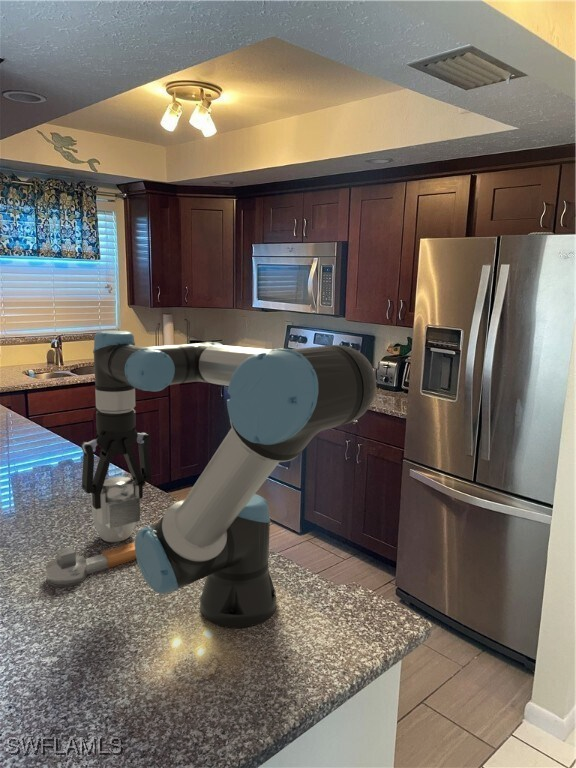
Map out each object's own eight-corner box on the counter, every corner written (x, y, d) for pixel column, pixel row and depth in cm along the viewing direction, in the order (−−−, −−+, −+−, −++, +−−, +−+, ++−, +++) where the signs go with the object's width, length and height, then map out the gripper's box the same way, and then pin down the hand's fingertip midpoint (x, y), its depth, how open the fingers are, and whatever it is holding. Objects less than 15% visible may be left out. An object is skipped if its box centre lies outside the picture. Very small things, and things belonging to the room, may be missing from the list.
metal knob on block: (140, 520, 115) (139, 483, 113) (109, 528, 111) (108, 490, 109) (126, 510, 120) (126, 474, 118) (97, 517, 116) (96, 481, 114)
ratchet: (150, 560, 128) (150, 535, 127) (54, 591, 114) (52, 564, 113) (135, 547, 134) (134, 523, 133) (41, 575, 120) (40, 549, 119)
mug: (150, 546, 135) (149, 495, 132) (104, 558, 129) (102, 504, 126) (130, 523, 147) (129, 476, 144) (87, 532, 141) (85, 483, 138)
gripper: (152, 400, 120) (153, 501, 124) (59, 411, 107) (64, 523, 112) (169, 406, 114) (169, 512, 118) (73, 419, 102) (77, 537, 106)
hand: (118, 517), depth 115 cm, fingers closed on metal knob on block, 6 cm apart
